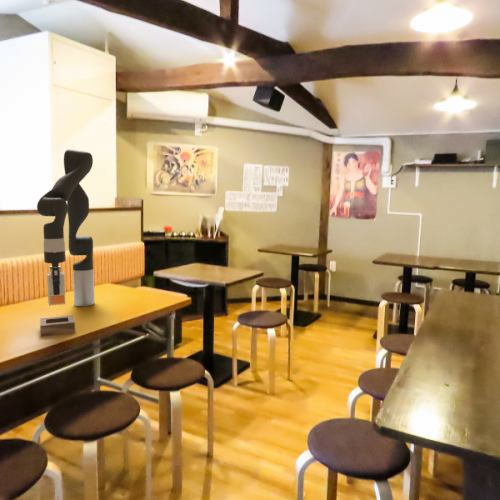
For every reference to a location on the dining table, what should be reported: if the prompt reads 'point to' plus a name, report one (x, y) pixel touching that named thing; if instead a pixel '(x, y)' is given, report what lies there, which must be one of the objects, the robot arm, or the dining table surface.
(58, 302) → the skincare box
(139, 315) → the dining table surface
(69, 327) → the grey slotted box
